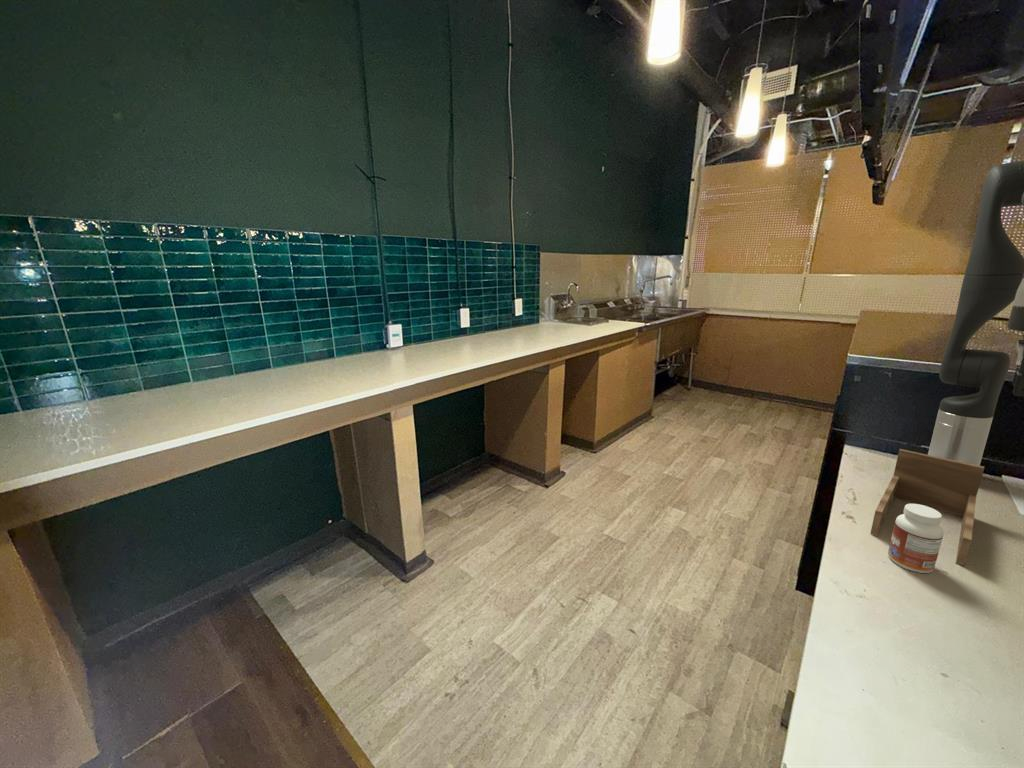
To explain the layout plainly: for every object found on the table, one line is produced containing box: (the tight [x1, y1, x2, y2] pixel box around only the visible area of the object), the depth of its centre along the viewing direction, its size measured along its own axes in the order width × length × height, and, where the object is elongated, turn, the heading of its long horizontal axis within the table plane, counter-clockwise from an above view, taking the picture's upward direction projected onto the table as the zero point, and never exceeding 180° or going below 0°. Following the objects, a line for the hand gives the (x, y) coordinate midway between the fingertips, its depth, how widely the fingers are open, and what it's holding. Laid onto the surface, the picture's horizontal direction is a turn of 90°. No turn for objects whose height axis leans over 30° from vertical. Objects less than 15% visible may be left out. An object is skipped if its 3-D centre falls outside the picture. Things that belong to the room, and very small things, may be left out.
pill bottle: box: [887, 503, 945, 574], centre depth 72 cm, size 6×6×11 cm
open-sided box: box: [870, 448, 985, 567], centre depth 83 cm, size 23×13×12 cm, turn 130°
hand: (1020, 391), depth 74 cm, fingers open, 8 cm apart
